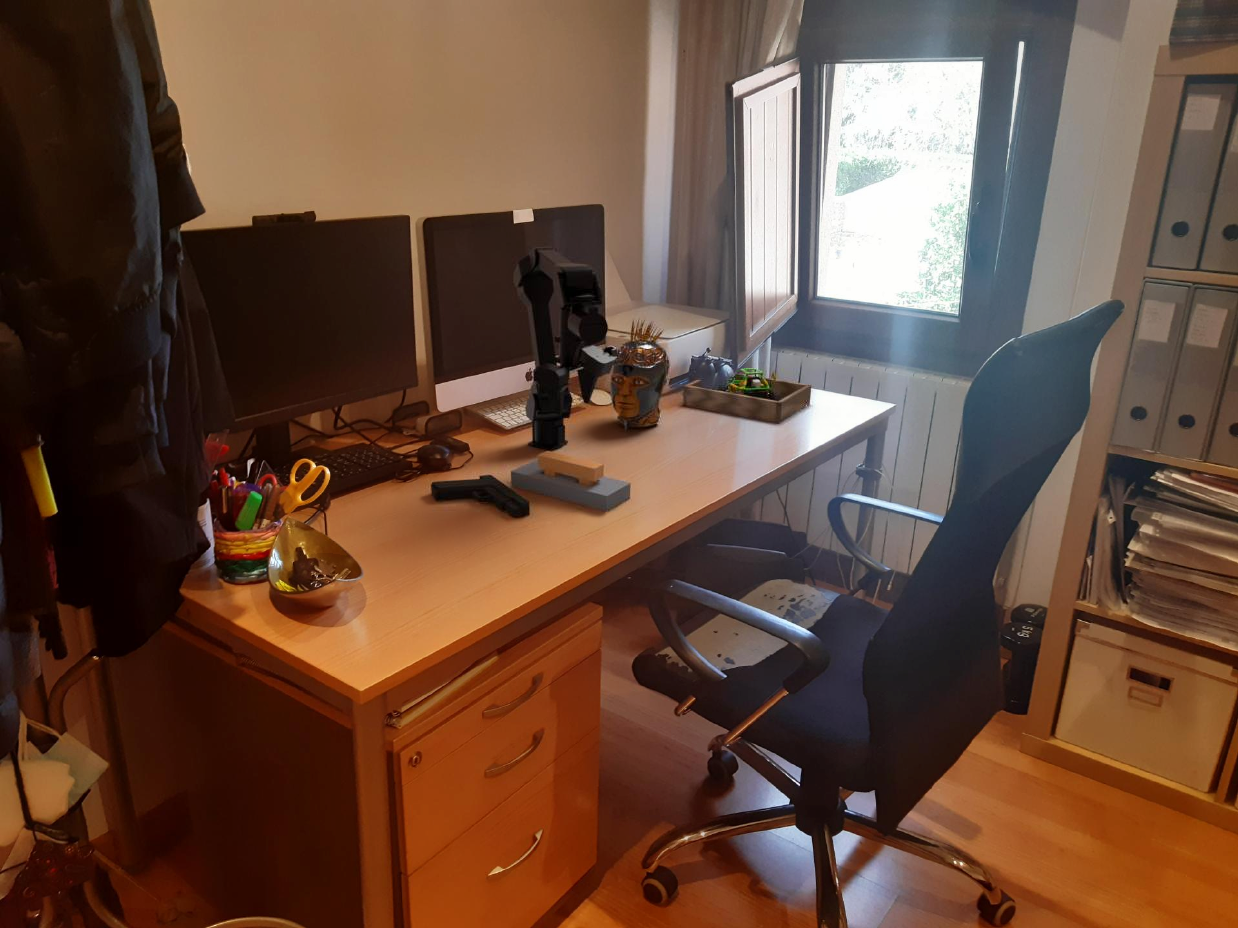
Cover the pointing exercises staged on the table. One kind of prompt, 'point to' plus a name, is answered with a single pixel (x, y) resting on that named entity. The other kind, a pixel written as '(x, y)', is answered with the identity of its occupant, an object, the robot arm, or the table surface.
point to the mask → (639, 379)
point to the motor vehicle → (752, 386)
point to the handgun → (482, 494)
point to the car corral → (750, 400)
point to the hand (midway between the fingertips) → (572, 408)
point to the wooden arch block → (570, 467)
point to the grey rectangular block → (571, 487)
